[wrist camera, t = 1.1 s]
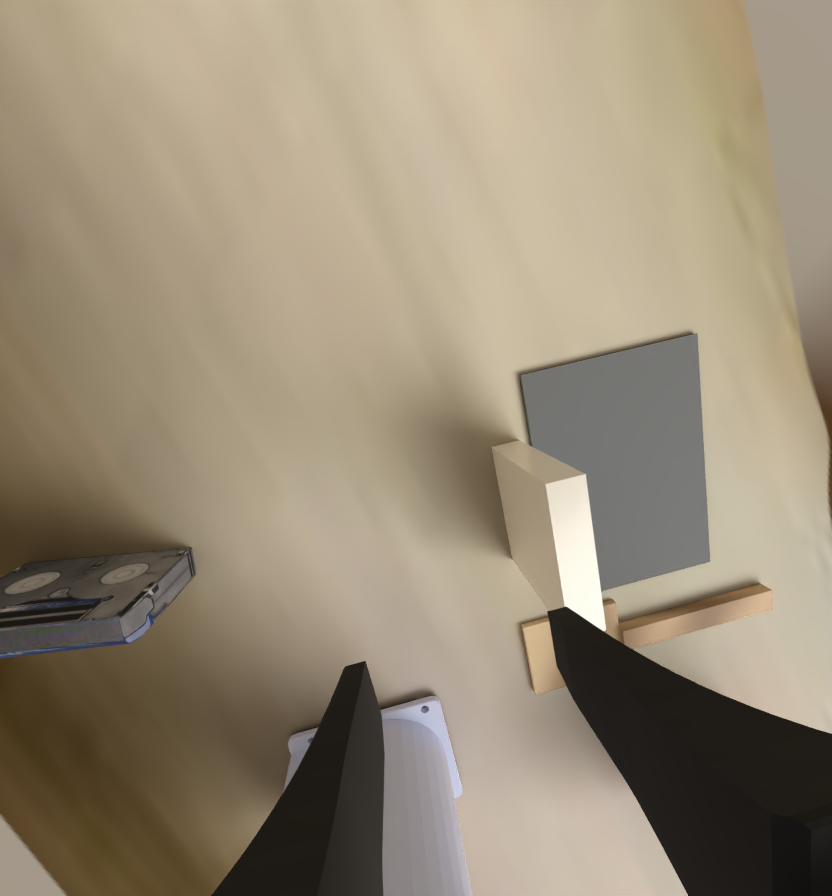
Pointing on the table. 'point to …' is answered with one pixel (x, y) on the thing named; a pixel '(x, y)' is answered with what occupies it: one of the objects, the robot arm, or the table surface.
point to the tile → (550, 528)
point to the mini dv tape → (88, 600)
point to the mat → (631, 452)
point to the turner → (643, 628)
